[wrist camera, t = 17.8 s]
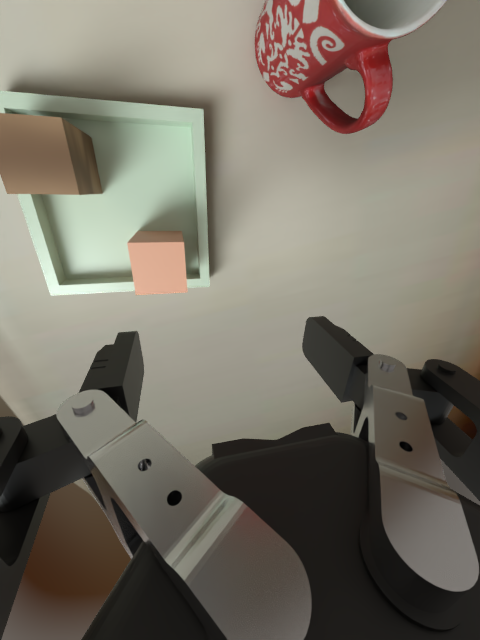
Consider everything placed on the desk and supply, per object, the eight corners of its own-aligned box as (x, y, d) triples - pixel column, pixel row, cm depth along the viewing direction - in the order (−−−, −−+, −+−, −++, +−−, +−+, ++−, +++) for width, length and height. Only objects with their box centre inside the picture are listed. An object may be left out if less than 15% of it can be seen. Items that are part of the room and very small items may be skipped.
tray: (3, 100, 21) (-18, 88, 19) (200, 116, 24) (203, 108, 22) (60, 287, 28) (50, 295, 26) (207, 279, 31) (209, 286, 29)
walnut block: (33, 133, 22) (-22, 111, 16) (91, 137, 23) (61, 117, 17) (49, 192, 24) (7, 193, 18) (102, 193, 25) (79, 194, 19)
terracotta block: (137, 230, 27) (127, 242, 21) (181, 230, 28) (184, 242, 22) (143, 273, 29) (135, 295, 23) (184, 271, 30) (187, 292, 24)
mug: (231, -16, 21) (306, -282, 9) (332, -39, 22) (521, -310, 10) (262, 160, 27) (329, 137, 15) (340, 138, 28) (461, 100, 16)
